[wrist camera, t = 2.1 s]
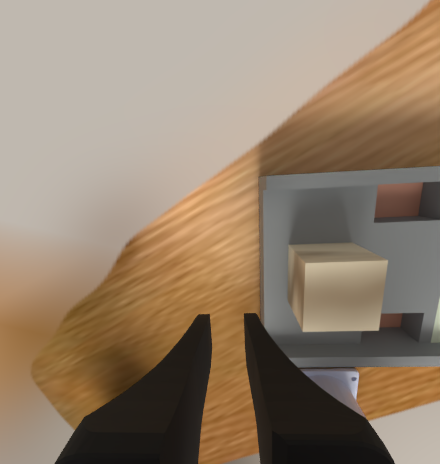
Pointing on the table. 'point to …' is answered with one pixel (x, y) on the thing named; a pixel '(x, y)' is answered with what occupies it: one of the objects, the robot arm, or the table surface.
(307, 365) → the trap box
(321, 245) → the birch block
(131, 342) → the table surface
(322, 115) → the table surface
